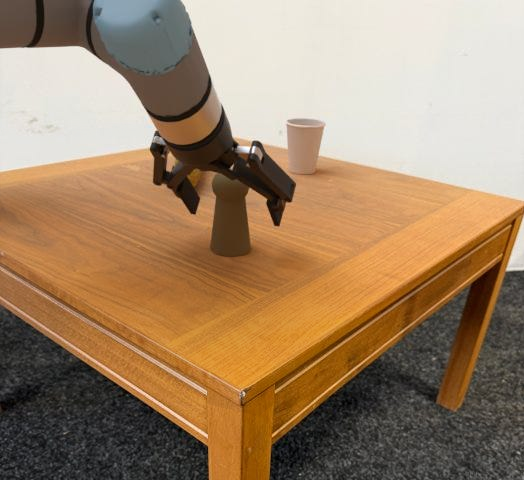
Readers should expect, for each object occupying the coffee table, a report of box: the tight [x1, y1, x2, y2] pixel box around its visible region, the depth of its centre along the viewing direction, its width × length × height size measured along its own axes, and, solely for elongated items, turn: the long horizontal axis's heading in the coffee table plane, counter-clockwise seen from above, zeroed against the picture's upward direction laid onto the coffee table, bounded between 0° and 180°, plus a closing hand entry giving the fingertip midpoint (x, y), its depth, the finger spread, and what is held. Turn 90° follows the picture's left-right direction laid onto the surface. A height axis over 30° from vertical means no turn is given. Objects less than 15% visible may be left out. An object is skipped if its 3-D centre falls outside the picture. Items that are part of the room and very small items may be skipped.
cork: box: [209, 173, 252, 257], centre depth 78 cm, size 6×6×11 cm
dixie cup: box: [284, 117, 327, 175], centre depth 116 cm, size 8×8×10 cm
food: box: [174, 158, 203, 188], centre depth 108 cm, size 21×6×6 cm, turn 5°
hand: (236, 211), depth 80 cm, fingers open, 12 cm apart
